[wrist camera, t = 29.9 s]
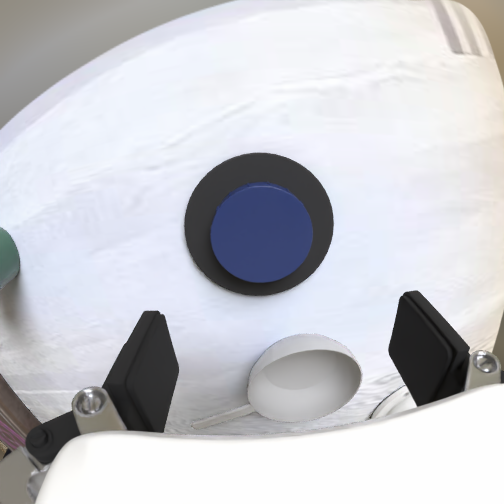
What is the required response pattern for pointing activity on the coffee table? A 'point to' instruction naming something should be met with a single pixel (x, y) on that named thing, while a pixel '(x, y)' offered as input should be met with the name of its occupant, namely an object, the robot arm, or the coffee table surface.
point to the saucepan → (297, 381)
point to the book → (14, 418)
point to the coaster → (249, 171)
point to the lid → (261, 232)
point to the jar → (8, 258)
